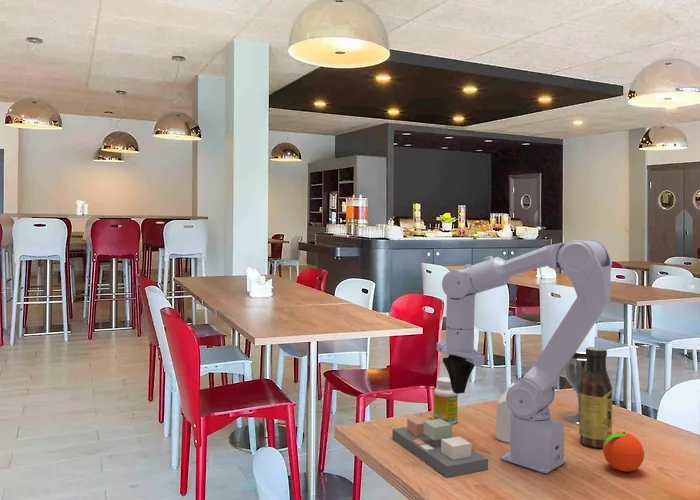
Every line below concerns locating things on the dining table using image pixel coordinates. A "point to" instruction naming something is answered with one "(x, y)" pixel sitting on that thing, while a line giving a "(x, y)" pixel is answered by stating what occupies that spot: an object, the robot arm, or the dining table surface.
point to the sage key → (437, 429)
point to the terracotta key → (416, 425)
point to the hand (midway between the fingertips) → (458, 392)
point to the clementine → (623, 451)
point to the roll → (503, 419)
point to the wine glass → (575, 379)
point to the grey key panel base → (439, 454)
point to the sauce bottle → (595, 400)
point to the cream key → (456, 448)
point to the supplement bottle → (445, 401)
